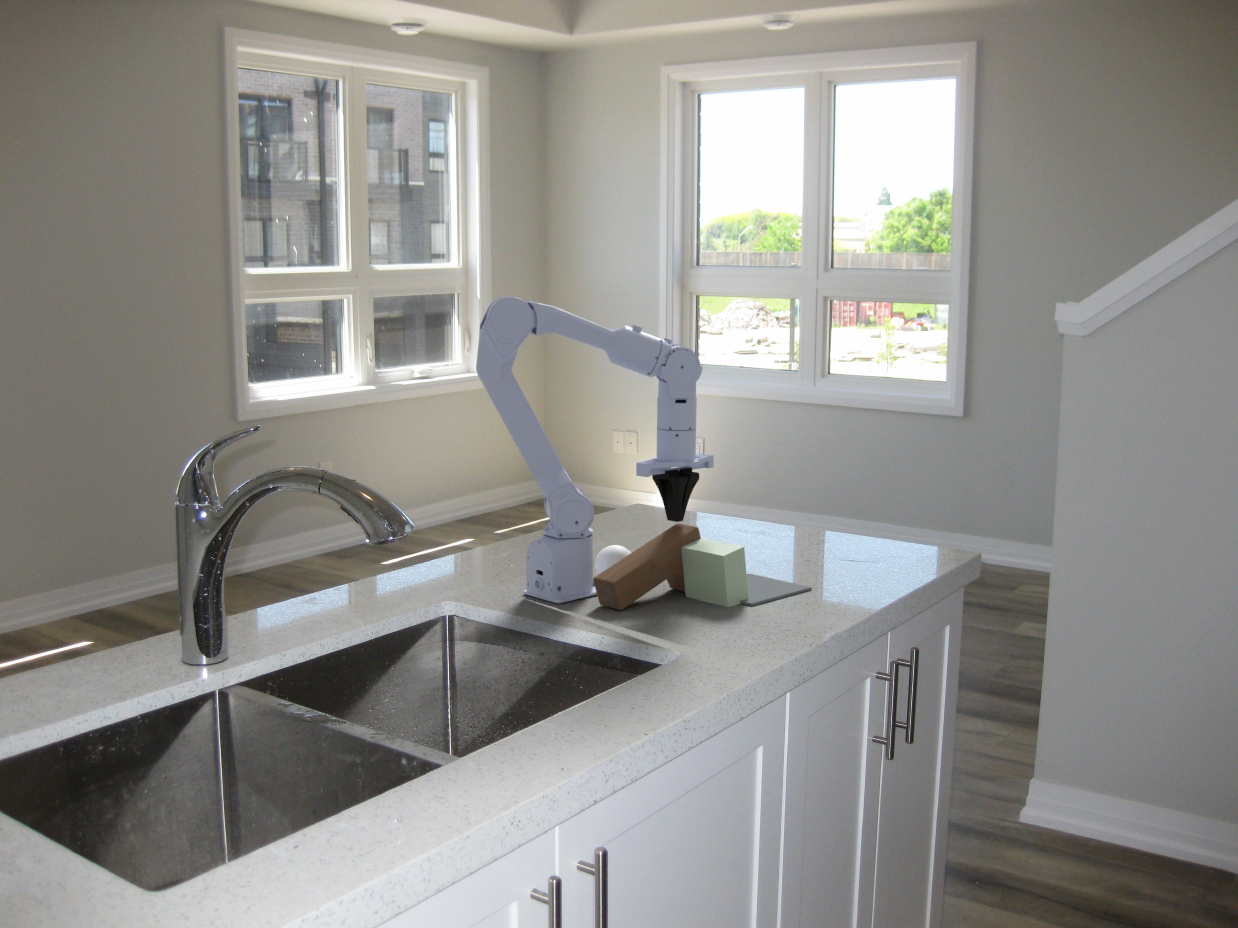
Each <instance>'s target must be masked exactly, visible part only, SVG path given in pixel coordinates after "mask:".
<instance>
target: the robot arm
mask: <svg viewBox="0 0 1238 928" xmlns="http://www.w3.org/2000/svg"><path fill="white" fill-rule="evenodd" d="M642 329H643V327H642V326H640V325H638V324H632V325H631V326H629V325H627V324H626V325H622V326H619V327H617V328H615V329H610V328H607V327H605V326H602V325H600V324H598V323H595V322H593V321H590V320H589V319H586V318H583V317H581V316H578V315H576V314H573V313H571V312H569V311H566V310H565V309H561V308H559V307H558V306H557V307H556V306H553V305H550V304H549V305H548V304H544V303H540V302H534V301H529V300H527V301H524V300H523V299H521V298H519V297H515V296H504V297H503V296H502V297H500V298H497V299H495V300H493V302H492V303H490V304H489V305H488V307H487V309H486V311H485V313H484V315H483V317H482V319H481V322H480V324H479V332H478V333H479V334H478V343H477V353H476V364H475V370H476V374H477V376H478V378H479V379H480V381H481V383H482V385H483V387H484V388H485V391H486V393H487V394H488V396H489V398H490V400H491V402H492V403H493V405H494V408H495V409H496V411H497V413H498V414H499V416H500V418H501V420H502V422H503V424H504V425H505V427H506V429H507V431H508V433H509V434H510V436H511V438H512V440H513V442H514V443H515V445H516V447H517V449H518V451H519V453H520V455H521V457H522V458H523V460H524V462H525V464H526V465H527V467H528V469H529V471H530V473H531V474H532V477H533V478H534V481H535V482H536V484H537V486H538V488H539V490H540V491H541V494H542V496H543V507H544V508H543V509H544V512H545V514H546V516H547V517H548V519H549V520H550V521H548V523H547V524H546V526H545V527H543V534H542V535H541V536H540V537H539V538H537V539H534V540H532V541H531V542H530V543H529V545H528V547H527V550H526V589H524V590H522V593H523V594H524V595H527V596H530V597H534V598H537V599H540V600H544V601H548V602H551V603H555V604H562V603H566V602H571V601H576V600H579V599H583V598H589V597H593V596H597V592H596V588H595V585H594V581H593V578H594V529H593V528H591V527H592V524H593V523H594V519H595V509H594V505H593V503H592V502H591V500H590V499H589V498H588V497H587V496H586V495H585V494H584V492H583V491H582V489H581V488H579V487H578V486H576V485H575V484H574V483H573V480H572V479H571V478H570V476H569V474H568V473H567V471H566V469H565V467H564V466H563V465H564V464H562V462H561V460H560V458H559V456H558V454H557V453H556V451H555V449H554V447H553V445H552V444H551V441H550V440H549V437H548V435H547V434H546V432H545V430H544V428H543V426H542V425H541V423H540V421H539V419H538V417H537V415H536V413H535V411H534V410H533V408H532V406H531V405H530V403H529V400H528V399H527V397H526V395H525V393H524V390H522V388H521V386H520V384H519V382H518V380H517V379H516V376H515V375H514V373H513V370H512V369H513V367H514V364H515V362H516V358H517V355H518V353H519V349H520V347H521V346H522V345H523V344H524V342H525V341H526V340H527V338H528V337H529V335H530V334H531V335H533V336H543V335H550V334H557V335H560V336H562V337H566V338H568V339H572V340H574V341H577V342H580V343H582V344H585V345H589V346H592V347H594V348H597V349H601V350H604V352H605V353H606V354H607V357H608V359H609V361H610V363H611V364H613V365H615V366H619V367H622V368H625V369H628V370H630V371H633V372H635V373H638V374H640V375H643V376H646V377H649V378H653V377H656V379H657V380H658V384H657V385H658V387H657V389H658V394H657V398H656V399H657V400H656V404H657V405H656V407H657V408H656V457H654V458H651V459H647V460H643V461H638V462H636V466H635V467H636V471H635V472H636V473H635V475H636V476H638V477H644V478H650V477H651V476H652V477H651V478H652V480H653V482H654V484H655V486H656V488H657V489H658V491H659V494H660V497H661V500H662V503H663V507H664V512H665V515H666V519H667V521H670V522H675V523H677V522H683V521H684V519H685V514H686V510H687V507H688V503H689V500H690V498H691V495H692V493H693V491H694V489H695V487H696V485H697V483H698V482H699V481H700V472H697V471H694V470H698V469H714V459H715V456H714V454H708V453H702V454H696V453H697V451H696V450H697V449H696V447H697V446H696V445H697V444H696V443H697V404H698V403H697V400H698V399H697V382H698V381H699V379H700V377H701V375H702V372H703V366H701V362H700V359H699V357H698V355H697V354H696V352H694V350H692V349H690V348H688V347H684V346H679V345H678V344H673V339H672V338H669V337H666V336H665V337H664V339H662V338H660V337H657V336H655V335H652V334H649V333H647V332H644V331H642Z"/></svg>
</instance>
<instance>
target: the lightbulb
mask: <svg viewBox="0 0 1238 928" xmlns="http://www.w3.org/2000/svg"><path fill="white" fill-rule="evenodd" d="M631 553H632V552H631V551H630V550H629V549H628V548H627V547H625V546H622V545H619V544H612V545H609V546H605V547H604V548H603V549H601V550H600V551H599V552H598V554H597V556H596V557H595V562H594V563H595V564H594V570H595V572H596V576H597V575H598V574H600V573H601V572H603V571H605V570H606V569H608V568H609V567H611V566H612V565H614V564H615V563H617V562H618V561H620V560H621V559H623V558H625V557H626V556H628V555H629V554H631Z"/></svg>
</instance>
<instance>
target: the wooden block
mask: <svg viewBox="0 0 1238 928" xmlns="http://www.w3.org/2000/svg"><path fill="white" fill-rule="evenodd" d="M701 538H702V537H701V533H700V529H699V527H697V526H693V525H688V524H683V523H675V524H674V525H672V526H670V527H669V528H667V529H666V530H664V531H663V532H661V533H660V534H658V535H657V536H655V537H654V538H652V539H651V540H649V541H648V542H646V543H644V544H643V545H641V546H640V547H638V548H637V549H635V550H634V551H632V552H631V554H629V555H628V556H626V557H625V558H623V559H621V560H620V561H618V562H617V563H615V564H614V565H612V566H611V567H609V568H608V569H606V570H605V571H603V572H601V573H600V574H598V575H597V574H596V575H595V576H593V585H594V587H595V588H596V592H597V595H596V596H597V599H598V602H599V604H600V606H603V607H607V608H610V609H614V610H617V611H623V610H624V609H626V608H627V607H629V606H630V605H632V604H633V603H635V601H637V600H639V599H641V598H642V597H643V596H644V595H646V594H647V593H649V592H650V591H651V590H653V589H655V588H656V587H657V586H659V585H660V584H662V583H663V582H665V581H667V583H668V587H669V588H670V589H672V590H676V591H680V592H683V593H685V583H684V573H683V562H682V552H681V547H682V546H685V545H687V544H689V543H692V542H694V541H696V540H699V539H701Z"/></svg>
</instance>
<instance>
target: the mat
mask: <svg viewBox="0 0 1238 928" xmlns="http://www.w3.org/2000/svg"><path fill="white" fill-rule="evenodd" d="M746 575H747V587H748V599H746V600H742V601H741V604H740V605H744V606H748V607H754V606H757V605H761V604H765V603H768V602H773V601H776V600H779V599H783V598H788V597H790V596H795V595H799V594H802V593H805V592H809V591H812V589H813V587H812V586H809V585H803V584H798V583H795V582H790V581H785V580H781V579H776V578H771V577H768V576H762V575H759V574H753V573H746Z"/></svg>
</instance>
